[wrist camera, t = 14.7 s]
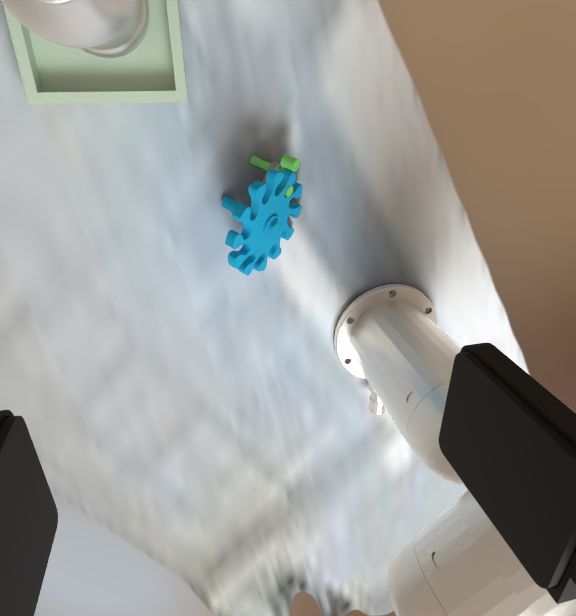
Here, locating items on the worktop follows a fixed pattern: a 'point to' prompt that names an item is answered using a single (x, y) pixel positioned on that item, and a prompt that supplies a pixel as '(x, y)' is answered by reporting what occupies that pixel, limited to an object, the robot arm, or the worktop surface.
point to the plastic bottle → (86, 23)
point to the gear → (264, 215)
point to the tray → (104, 66)
